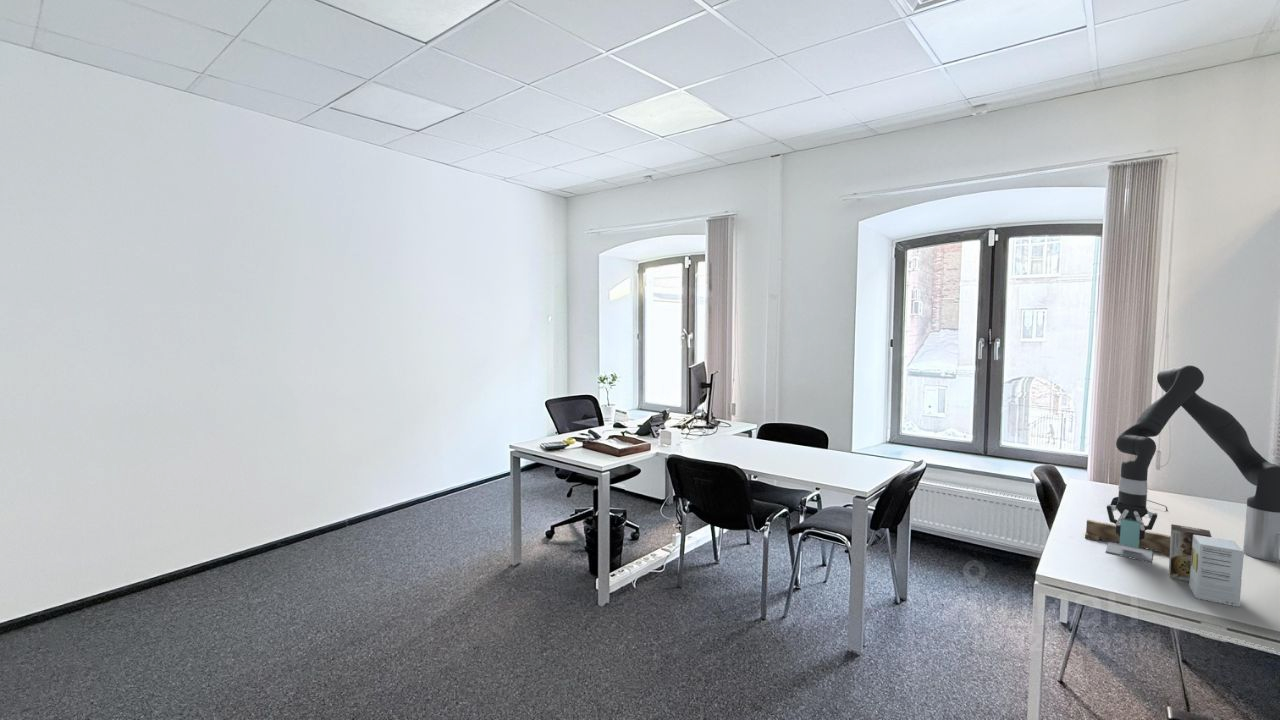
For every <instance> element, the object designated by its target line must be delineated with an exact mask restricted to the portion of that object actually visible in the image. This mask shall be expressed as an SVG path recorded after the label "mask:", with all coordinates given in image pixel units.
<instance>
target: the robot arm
mask: <svg viewBox="0 0 1280 720" xmlns="http://www.w3.org/2000/svg"><path fill="white" fill-rule="evenodd" d="M1156 379H1157V383H1158V385H1159V386H1160V388H1161V389H1162V390H1163V391H1164V392H1165V393H1164V394H1163V395H1162V396H1161V397H1160V398H1158V399H1157V400H1156V401H1154V402H1153V403H1151V404H1150V405H1148V407H1147V408H1146V409H1145V410H1144V411H1143V412H1142V413H1141V415H1140V416H1139V418H1138V419H1137V420H1136V422H1135V423H1134V424H1132V425H1131V426H1130V427H1128V428H1127V429H1126V430H1124V431H1122V433H1120V434H1119V436H1118V437H1117V439H1116V441H1115V447H1116V448H1117V450H1118V451H1119V452H1121V453H1123V454H1127V455H1133V456H1136V458H1135V459H1134V460H1124V461H1122V463H1121V467H1120V478H1119V483H1118V496H1117V497H1118V504H1117V505H1111V504H1107V505H1106V511H1107V515H1108V519H1109V522H1110V524H1113V525H1116V534H1118V536H1120V530H1121V519H1124V518H1127V519H1133V520H1137V522H1140V534H1139V540H1142V539H1144V538H1145V531H1151V530H1153V527H1154V525H1155V523H1156V520H1157V519H1158V513H1157V512H1152V511H1149V510H1148V508H1147V502H1148V501H1147V500H1148V470H1149V467H1150V465H1151V462H1152V460H1153V457H1154V455H1155V454H1156V450H1157V443H1156V442H1155V441H1154V439H1153V438H1154V437H1157V436H1159V435H1160V434H1161V432H1162V431H1163V429H1164V428H1165V426H1167V424H1168V422H1169V421H1170V420H1171V418H1172V417H1173V415H1174V414H1175V413H1176V412H1177V410H1178V409H1180V407H1182V408H1183V410H1184V411H1185V412H1186V413H1187V414H1188V415H1189V416H1190V417H1191V418H1192V419H1193V420H1194V421H1195V422H1196V423H1197V424H1198V425H1199V427H1200V428H1201V429H1202V430H1203V431H1204V432H1205V434H1207V436H1208V437H1209V438H1210V439H1211V440H1212V441H1214V443H1215V444H1216V445H1217V446H1218V448H1220V449H1221V450H1222V451H1223V452H1224V453H1225V454H1226V455H1227V456H1228V457H1229V459H1230V460H1231V461H1232V462H1233V464H1235V466H1236V467H1237V469H1238V471H1240V474H1242V476H1243V477H1244V479H1246V481H1247V482H1249V483H1250V484H1251V485H1253V486H1256V488H1255V489H1256V490H1255V494H1254V496H1249V497H1248V498H1247V500H1246V508H1245V509H1246V511H1245V520H1244V521H1245V522H1244V535H1243V536H1244V537H1243V546H1242V547H1243V549H1242V550H1243V551H1244V555H1247V556H1250V557H1252V558H1256V559H1259V560H1265V561H1269V562H1271V561H1272V562H1274V563H1279V562H1280V465H1277V464H1276V463H1275V464H1274V463H1271V462H1270V461H1268V460H1267V459H1265V458H1264V456H1262V455H1261V454H1260V452H1258V451H1257V450H1256V449H1255V448H1254V446H1252V444H1251V441H1250V439H1249V436H1248V433H1247V431H1246V429H1245V428H1244V427H1243V425H1242V424H1241V423H1240V422H1239V421H1238V420H1237V418H1235V416H1233V415H1232V414H1231V413H1230V412H1229V411H1228V410H1226V409H1224V408H1223V407H1221V406H1218V405H1217V404H1214V403H1212V402H1210V401H1208V400H1207V399H1206V398H1205V399H1204V398H1203V397H1202V396H1201V395H1200V394H1199V395H1198V393H1197V391H1198V390H1199V389H1200V388H1201V387H1202V386H1203V384H1204V380H1205V376H1204V373H1203V372H1202V370H1201V369H1200V368H1199V367H1197V366H1194V365H1188V364H1187V365H1180V366H1175V367H1168V368H1165V369H1161V371H1159V372H1158V373H1157V376H1156ZM1115 510H1117V511H1118V513H1119V514H1120V515H1119V517H1118V518H1117V519H1116V518H1115V516H1114V515H1115V514H1114V512H1115ZM1146 515H1147V516H1148V519H1150V520H1149V521H1148V524H1146V525H1145V522H1144V520H1143V517H1145V516H1146Z"/></svg>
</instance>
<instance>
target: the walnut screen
mask: <svg viewBox="0 0 1280 720" xmlns="http://www.w3.org/2000/svg"><path fill="white" fill-rule="evenodd" d="M1085 528H1086V529H1085V535H1084V539H1087V538H1089V539H1088V540H1091V539H1093V540H1092V541H1096V540H1097V542H1099V540H1102V539H1104V541H1107V540H1108V542H1112V541H1114V542H1113V543H1117V542H1119V543H1118V544H1120V536H1118V534H1116V524H1114V523H1106V522H1101V521H1096V520H1092V519H1086V527H1085ZM1170 540H1171V535H1169V534H1165V533H1164V534H1163V533H1157V532H1152V531H1150V530H1145V538H1144V539H1142V540H1139V548H1140V547H1143V548H1142V549H1145V548H1148V549H1147V550H1149V549H1152V550H1151V551H1154V550H1157V551H1156V552H1159V551H1160V552H1159V553H1163V554H1164V556H1167V557H1170Z"/></svg>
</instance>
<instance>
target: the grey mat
mask: <svg viewBox="0 0 1280 720" xmlns="http://www.w3.org/2000/svg"><path fill="white" fill-rule="evenodd" d="M1153 551H1154V550H1149V549H1145V548H1140V547H1139V548H1136V547H1132V546H1127V545H1122V544H1120V543H1117V542H1112V541H1108V543H1107V546H1106V549H1105V553H1106V552H1107V553H1106V554H1110V553H1112V554H1111V555H1114V554H1117V555H1116V556H1119V555H1122V556H1121V557H1123V556H1126V557H1125V558H1128V557H1131V558H1130V559H1132V558H1135V559H1134V560H1137V559H1138V560H1137V561H1141V560H1142V562H1145V561H1147V562H1146V563H1150V562H1151V563H1152V560H1153V554H1152V553H1153Z"/></svg>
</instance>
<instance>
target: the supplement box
mask: <svg viewBox="0 0 1280 720" xmlns="http://www.w3.org/2000/svg"><path fill="white" fill-rule="evenodd" d="M1244 556H1245V553H1244V551H1243V549H1242V548H1241V547H1240V546H1239V545H1238V544H1237V543H1236V541H1234V540H1229V539H1224V538H1217V537H1206V536H1200V535H1193V542H1192V556H1191V569H1190V582H1189V581H1188V582H1189V583H1188V587H1189V589H1190V590H1191V591H1192V594H1193V595H1194V597H1195V598H1196V599H1198V600H1202V601H1207V600H1208V602H1213V603H1217V602H1219V603H1218V604H1222V603H1224V604H1223V605H1227V604H1228V606H1231V605H1233V606H1232V607H1236V606H1237V607H1236V608H1240V606H1241V605H1240V604H1241V592H1242V582H1243V581H1242V577H1243V576H1242V575H1243V568H1244V558H1245V557H1244Z"/></svg>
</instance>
